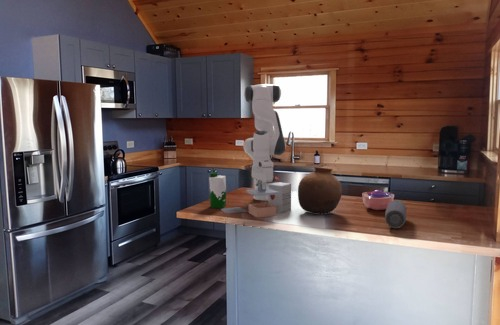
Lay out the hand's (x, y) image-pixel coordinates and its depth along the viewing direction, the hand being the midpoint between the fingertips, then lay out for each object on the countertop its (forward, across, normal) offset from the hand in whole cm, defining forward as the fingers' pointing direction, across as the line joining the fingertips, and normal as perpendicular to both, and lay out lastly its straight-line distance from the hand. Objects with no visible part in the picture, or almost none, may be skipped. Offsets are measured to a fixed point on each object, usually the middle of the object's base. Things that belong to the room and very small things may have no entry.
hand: (261, 188), depth 200 cm
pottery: (+14, +10, +29) cm, 34 cm away
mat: (+14, -15, -11) cm, 23 cm away
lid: (+2, 0, 0) cm, 2 cm away
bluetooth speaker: (+15, +43, +50) cm, 67 cm away
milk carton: (+14, -27, -16) cm, 35 cm away
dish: (+14, 0, 0) cm, 14 cm away
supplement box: (+14, -5, +13) cm, 20 cm away
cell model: (+14, +15, +63) cm, 66 cm away
